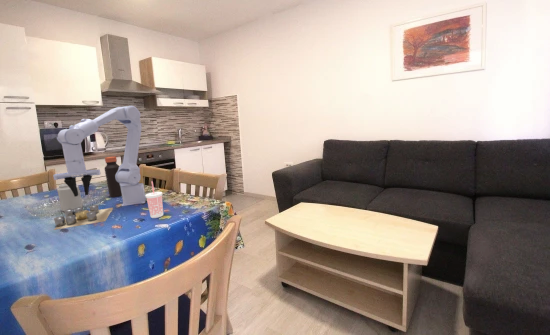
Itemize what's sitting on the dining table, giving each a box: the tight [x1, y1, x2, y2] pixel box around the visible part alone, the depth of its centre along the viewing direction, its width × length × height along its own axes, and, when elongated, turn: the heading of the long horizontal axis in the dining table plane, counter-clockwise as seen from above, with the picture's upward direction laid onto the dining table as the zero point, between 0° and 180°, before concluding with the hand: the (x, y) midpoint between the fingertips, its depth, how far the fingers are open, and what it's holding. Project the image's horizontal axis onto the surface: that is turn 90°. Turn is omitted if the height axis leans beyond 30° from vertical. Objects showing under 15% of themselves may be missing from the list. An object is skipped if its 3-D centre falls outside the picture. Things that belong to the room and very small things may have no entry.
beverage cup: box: [145, 180, 164, 219], centre depth 104 cm, size 6×6×14 cm
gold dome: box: [75, 209, 90, 220], centre depth 105 cm, size 4×4×2 cm
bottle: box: [104, 156, 122, 198], centre depth 136 cm, size 7×7×20 cm
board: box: [53, 207, 114, 231], centre depth 105 cm, size 16×17×1 cm
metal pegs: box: [53, 204, 100, 228], centre depth 104 cm, size 13×13×3 cm
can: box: [56, 183, 84, 212], centre depth 116 cm, size 8×8×12 cm
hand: (81, 195), depth 103 cm, fingers open, 3 cm apart
